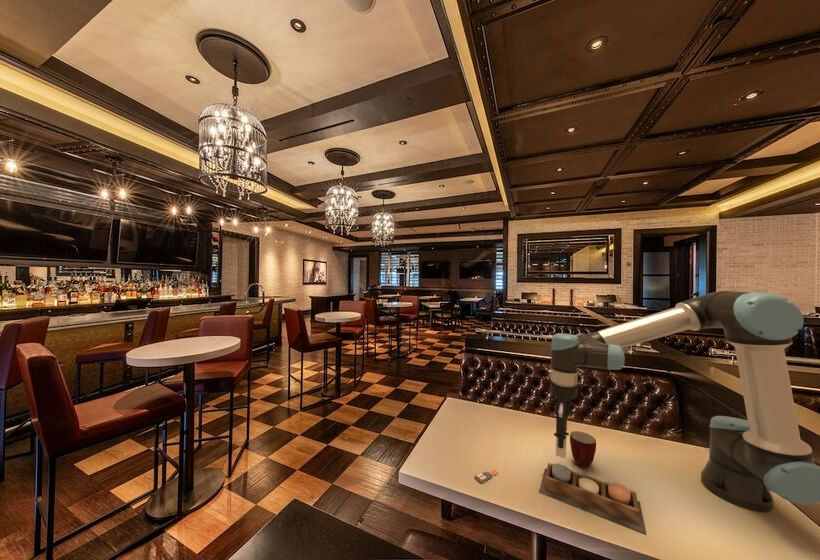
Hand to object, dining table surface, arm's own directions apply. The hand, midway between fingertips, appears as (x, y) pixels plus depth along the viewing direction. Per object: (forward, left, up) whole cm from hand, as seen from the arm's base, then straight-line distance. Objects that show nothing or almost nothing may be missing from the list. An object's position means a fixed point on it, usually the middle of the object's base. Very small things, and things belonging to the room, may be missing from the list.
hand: (560, 455), depth 91 cm
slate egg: (0, 0, -8) cm, 8 cm away
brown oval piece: (-15, 0, -8) cm, 17 cm away
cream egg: (-8, 0, -9) cm, 12 cm away
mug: (-6, -16, -10) cm, 20 cm away
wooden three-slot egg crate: (-8, 0, -10) cm, 13 cm away
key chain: (+20, +7, -11) cm, 24 cm away
